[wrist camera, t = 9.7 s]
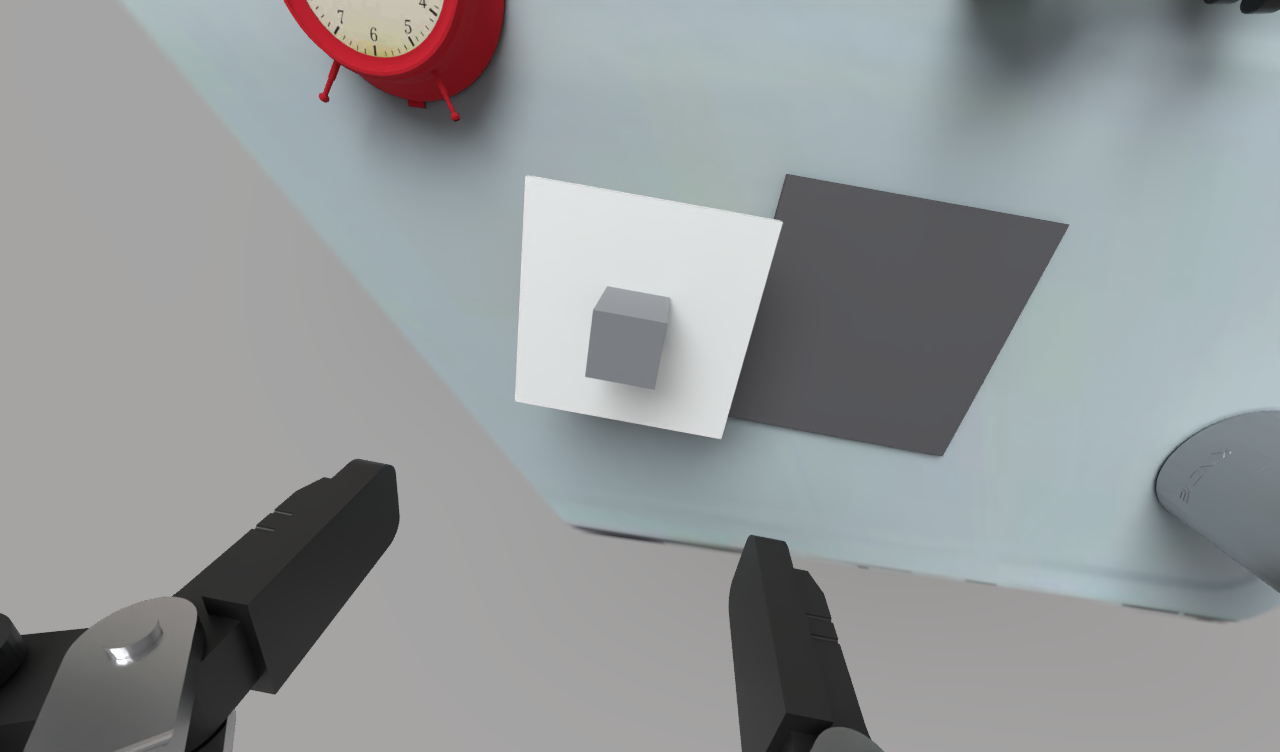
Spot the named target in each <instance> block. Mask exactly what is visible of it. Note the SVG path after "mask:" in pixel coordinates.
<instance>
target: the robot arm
mask: <svg viewBox="0 0 1280 752" xmlns="http://www.w3.org/2000/svg"><path fill="white" fill-rule="evenodd" d="M1156 492H1157V496H1158V499H1159V501H1160V503H1161V504H1162V505H1163V507H1164V508H1165V509H1166V510H1168V511H1169V512H1170V513H1172V514H1173V515H1174V516H1176V517H1177V518H1178V519H1180V520H1181V521H1182V522H1184V523H1185V524H1187V525H1188V526H1189V527H1191V528H1192V529H1193V530H1195V531H1196V532H1197V533H1199V534H1200V535H1201V536H1203V537H1204V538H1206V539H1207V540H1208V541H1210V542H1211V543H1212V544H1214V545H1215V546H1216V547H1218V548H1219V549H1221V550H1222V551H1223V552H1224V553H1225V554H1227V555H1228V556H1230V557H1231V558H1232V559H1234V560H1235V561H1236V562H1238V563H1239V564H1241V565H1242V566H1243V567H1245V568H1246V569H1247V570H1249V571H1250V572H1252V573H1253V574H1254V575H1256V576H1257V577H1258V578H1260V579H1261V580H1262V581H1264V582H1265V583H1267V584H1268V585H1269V586H1271V587H1272V588H1273V589H1275V590H1276V591H1278V592H1279V593H1280V411H1262V412H1255V413H1248V414H1243V415H1240V416H1236V417H1232V418H1229V419H1226V420H1224V421H1221V422H1219V423H1216V424H1214V425H1212V426H1209V427H1208V428H1206V429H1204V430H1202V431H1201V432H1199V433H1197V434H1195V435H1194V436H1192V437H1191V438H1190V439H1188V440H1187V441H1186V442H1185V443H1183V444H1182V445H1181V446H1179V447H1178V448H1177V450H1176V451H1175V452H1174V453H1173V454H1172V455H1171V456H1170V457H1169V458H1168V459H1167V461H1166V462H1165V464H1164V465H1163V467H1162V468H1161V471H1160V473H1159V476H1158V479H1157V486H1156ZM399 518H400V517H399V505H398V493H397V483H396V472H395V469H394V467H393V466H391V465H388V464H382V463H378V462H372V461H367V460H362V459H355V460H353V461H351V462H350V463H348V464H347V465H346V466H345V467H344V468H343V469H342V470H340V472H338V473H337V474H336V475H335V476H334V477H333V478H332V479H330V478H322V479H320V480H318V481H316V482H314V483H312V484H310V485H308V486H306V487H303V488H301V489H300V490H298V491H296V492H295V493H293V494H292V495H291V496H290V497H289V498H288V499H286V500H285V501H284V502H283V503H282V504H281V505H279V506H278V507H277V508H276V509H275V511H274V513H273V514H272V513H270V514H269V515H268V516H267V517H265V518H264V519H263V520H262V521H261V522H260V523H258V524H257V526H256V528H255V529H251V530H250V531H249V532H248V533H247V534H245V535H244V536H243V537H242V538H241V539H240V540H238V541H237V542H236V543H235V544H234V545H232V546H231V547H230V548H229V549H228V550H227V551H225V552H224V553H223V554H222V555H221V556H220V557H218V558H217V559H216V560H215V561H214V562H212V563H211V564H210V565H209V566H208V567H207V568H205V569H204V570H203V571H202V572H201V573H200V574H199V575H197V576H196V577H195V578H194V579H193V580H191V581H190V582H189V583H188V584H187V585H186V586H184V587H183V588H182V589H181V590H180V591H178V592H177V593H176V594H174V595H173V596H172V597H159V598H154V599H149V600H145V601H141V602H138V603H135V604H132V605H130V606H128V607H125V608H122V609H120V610H118V611H116V612H114V613H112V614H111V615H109V616H107V617H105V618H103V619H102V620H100V621H99V622H97V623H96V624H94V625H93V626H92V627H90V628H85V629H76V630H66V631H56V632H46V633H36V634H27V635H20V634H19V632H18V631H17V629H16V628H15V626H14V625H13V623H12V622H11V620H10V619H9V618H8V617H7V616H5V615H4V614H1V613H0V752H232V749H233V740H234V732H235V722H236V711H235V707H236V706H237V705H238V704H239V703H240V701H241V700H242V699H243V698H244V696H245V695H246V694H247V693H248V692H249V690H255V691H260V692H265V693H270V694H276V693H277V692H278V690H279V689H280V688H281V686H282V685H283V684H284V683H285V681H286V680H287V679H288V677H289V676H290V674H291V673H292V672H293V671H294V669H295V668H296V667H297V665H298V664H299V663H300V662H301V660H302V659H303V658H304V656H305V655H306V654H307V652H308V651H309V650H310V649H311V647H312V646H313V645H314V643H315V642H316V641H317V640H318V638H319V637H320V636H321V634H322V633H323V632H324V630H325V629H326V628H327V626H328V625H329V624H330V623H331V621H332V620H333V619H334V617H335V616H336V615H337V613H338V612H339V611H340V610H341V608H342V607H343V606H344V604H345V603H346V602H347V600H348V599H349V598H350V597H351V595H352V594H353V593H354V591H355V590H356V589H357V587H358V586H359V585H360V583H361V582H362V581H363V580H364V578H365V577H366V576H367V574H368V573H369V572H370V570H371V569H372V568H373V567H374V565H375V564H376V563H377V561H378V560H379V559H380V557H381V556H382V555H383V553H384V552H385V551H386V550H387V548H388V547H389V546H390V544H391V542H392V541H393V539H394V537H395V534H396V532H397V529H398V525H399ZM729 618H730V628H731V640H732V649H733V661H734V672H735V682H736V692H737V704H738V714H739V724H740V734H741V735H740V736H741V746H742V752H884V751H883V750H882V749H881V748H880V747H879V746H878V745H877V744H876V743H875V742H873V741H872V740H871V738H870V736H869V734H868V731H867V728H866V726H865V723H864V720H863V716H862V713H861V710H860V707H859V704H858V700H857V697H856V694H855V691H854V688H853V685H852V681H851V678H850V675H849V672H848V669H847V666H846V663H845V659H844V656H843V653H842V650H841V647H840V644H838V637H837V634H836V631H835V628H834V625H833V623H831V615H830V612H829V609H828V606H827V603H826V599H825V596H824V593H823V592H822V591H821V589H820V588H819V586H818V585H817V584H816V582H815V581H814V579H813V578H812V577H811V575H810V574H809V572H808V571H804V570H799V569H794V568H793V564H792V561H791V557H790V553H789V549H788V546H787V544H786V542H784V541H781V540H775V539H770V538H765V537H760V536H754V535H750V536H749V537H748V539H747V541H746V544H745V547H744V549H743V552H742V555H741V558H740V561H739V563H738V566H737V569H736V572H735V575H734V578H733V580H732V584H731V588H730V595H729Z"/></svg>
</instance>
